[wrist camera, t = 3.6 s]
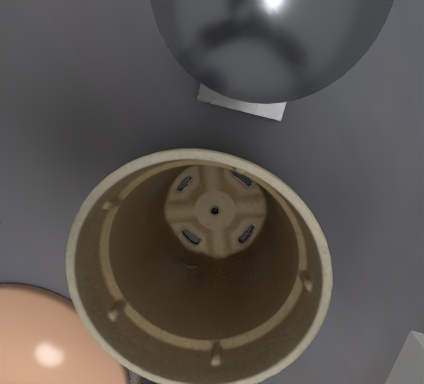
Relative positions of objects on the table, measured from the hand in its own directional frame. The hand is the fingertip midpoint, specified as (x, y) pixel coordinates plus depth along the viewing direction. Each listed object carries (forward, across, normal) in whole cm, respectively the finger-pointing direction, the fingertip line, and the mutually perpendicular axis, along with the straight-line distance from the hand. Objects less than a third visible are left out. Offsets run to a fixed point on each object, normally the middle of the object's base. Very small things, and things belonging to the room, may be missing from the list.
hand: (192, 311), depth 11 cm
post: (+10, 0, +8) cm, 13 cm away
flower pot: (+10, 0, 0) cm, 10 cm away
